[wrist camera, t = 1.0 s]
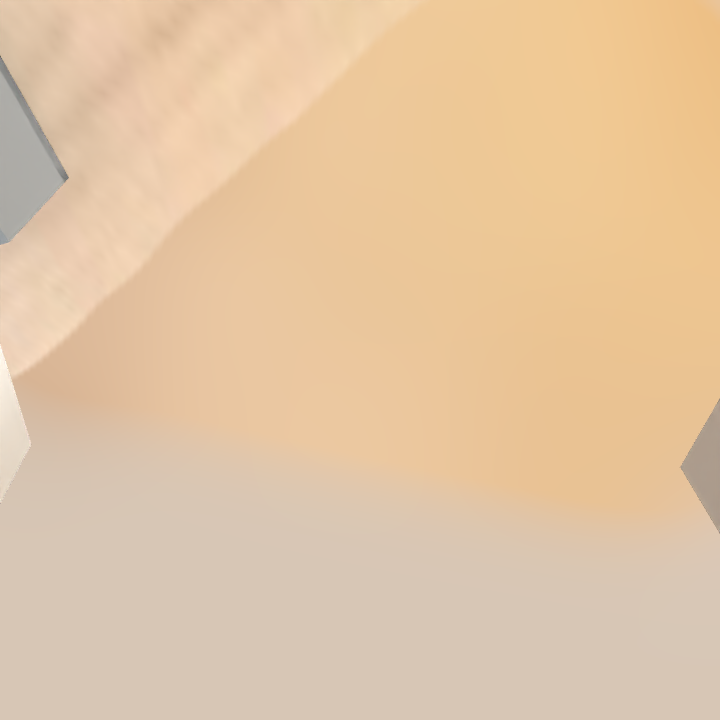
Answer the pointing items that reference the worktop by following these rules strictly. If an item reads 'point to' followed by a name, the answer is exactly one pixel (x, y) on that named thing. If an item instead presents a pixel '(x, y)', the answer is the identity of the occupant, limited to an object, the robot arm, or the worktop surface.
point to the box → (23, 161)
